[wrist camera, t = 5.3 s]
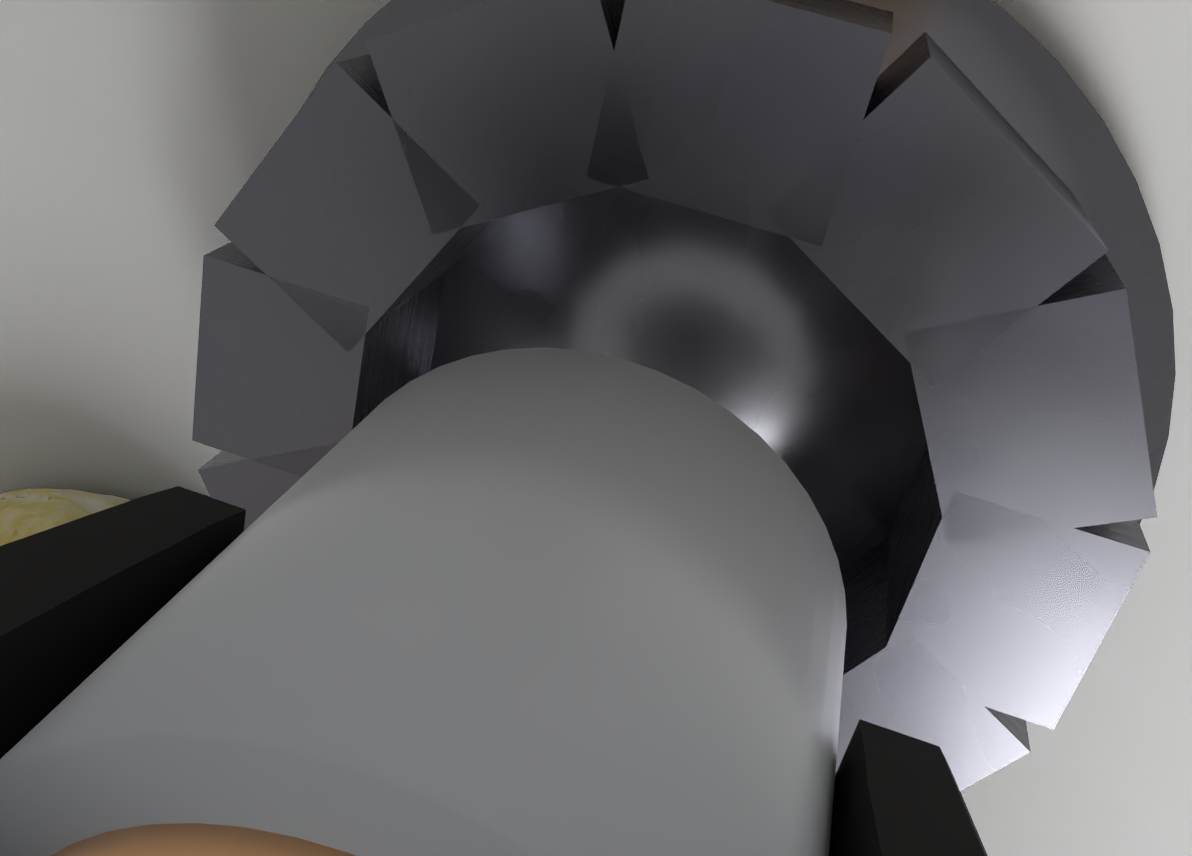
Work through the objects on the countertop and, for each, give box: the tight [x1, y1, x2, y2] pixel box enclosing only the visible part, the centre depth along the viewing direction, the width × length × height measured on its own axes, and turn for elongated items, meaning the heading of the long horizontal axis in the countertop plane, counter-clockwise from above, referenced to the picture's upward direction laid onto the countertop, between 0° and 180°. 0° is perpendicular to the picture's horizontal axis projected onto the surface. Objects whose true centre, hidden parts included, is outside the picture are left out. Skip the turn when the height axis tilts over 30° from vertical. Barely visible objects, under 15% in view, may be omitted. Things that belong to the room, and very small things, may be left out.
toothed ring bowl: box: [192, 0, 1175, 791], centre depth 14 cm, size 12×12×3 cm
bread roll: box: [0, 489, 131, 546], centre depth 19 cm, size 8×9×4 cm
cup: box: [0, 347, 847, 856], centre depth 8 cm, size 5×5×5 cm
